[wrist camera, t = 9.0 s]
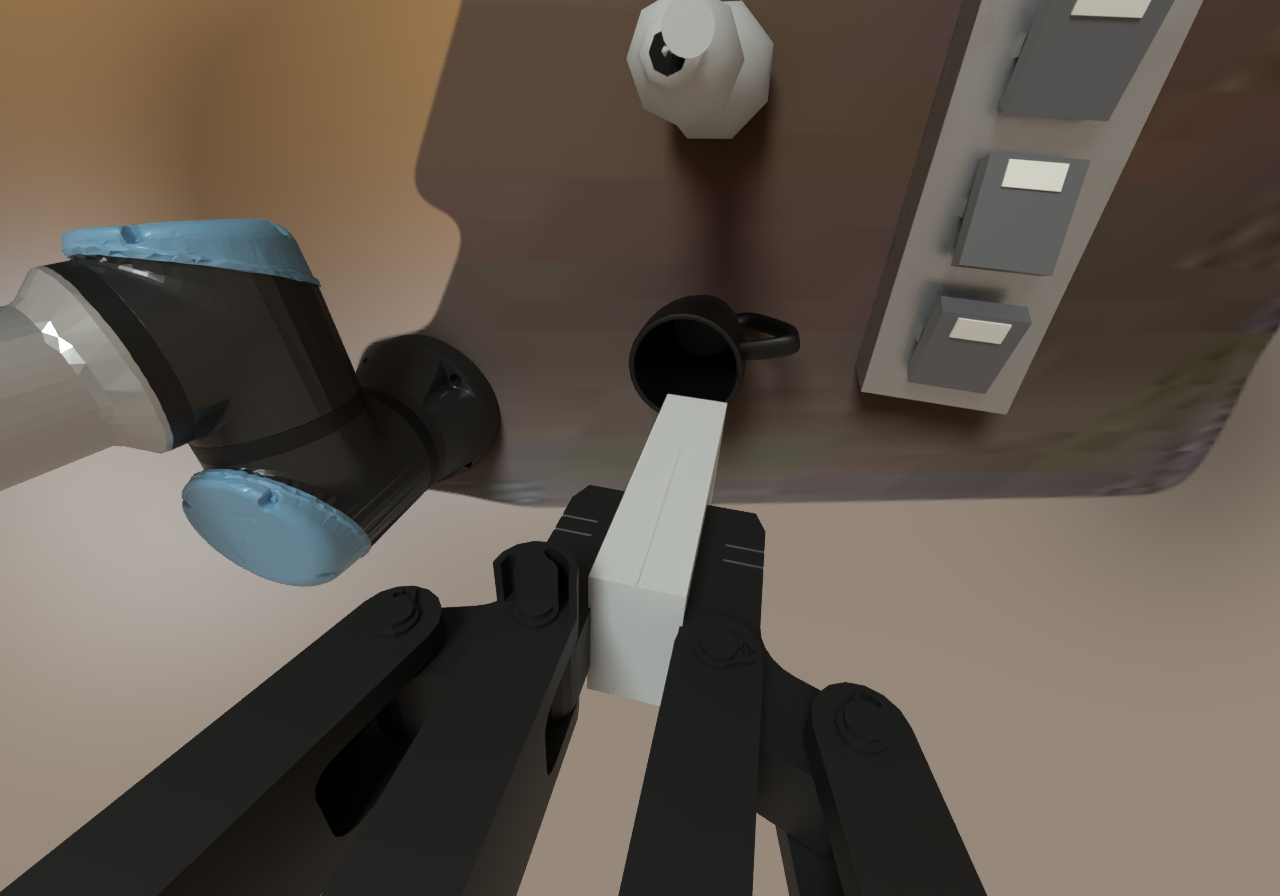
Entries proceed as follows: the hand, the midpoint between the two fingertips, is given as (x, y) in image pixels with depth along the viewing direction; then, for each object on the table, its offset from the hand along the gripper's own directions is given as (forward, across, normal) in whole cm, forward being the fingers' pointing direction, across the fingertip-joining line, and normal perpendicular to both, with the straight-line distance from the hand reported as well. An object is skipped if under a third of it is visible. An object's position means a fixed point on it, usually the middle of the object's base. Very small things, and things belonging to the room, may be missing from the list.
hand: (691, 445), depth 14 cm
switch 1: (+26, +15, +11) cm, 32 cm away
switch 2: (+26, +15, +3) cm, 30 cm away
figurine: (+33, -4, +10) cm, 35 cm away
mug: (+33, -1, -8) cm, 34 cm away
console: (+33, +15, +3) cm, 36 cm away
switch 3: (+26, +15, -5) cm, 30 cm away
